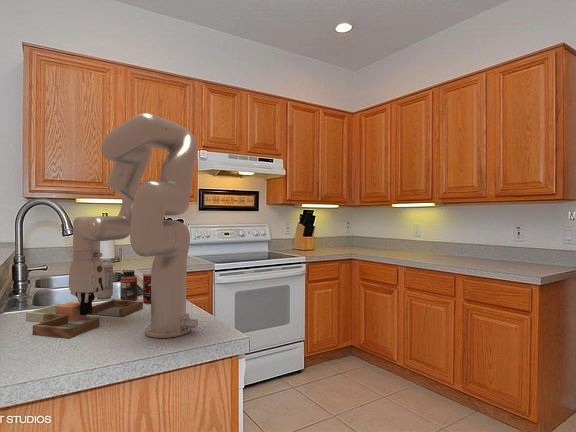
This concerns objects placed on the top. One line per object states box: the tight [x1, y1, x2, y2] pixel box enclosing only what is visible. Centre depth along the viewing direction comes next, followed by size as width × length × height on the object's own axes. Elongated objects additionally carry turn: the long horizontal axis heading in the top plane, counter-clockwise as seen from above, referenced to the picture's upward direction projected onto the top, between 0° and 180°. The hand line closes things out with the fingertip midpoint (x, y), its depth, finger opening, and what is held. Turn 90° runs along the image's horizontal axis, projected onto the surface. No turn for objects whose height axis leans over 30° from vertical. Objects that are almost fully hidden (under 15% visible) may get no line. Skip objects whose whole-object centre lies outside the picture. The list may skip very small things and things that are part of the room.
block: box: [54, 301, 87, 323], centre depth 115 cm, size 6×6×4 cm
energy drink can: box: [96, 258, 114, 301], centre depth 143 cm, size 6×6×15 cm
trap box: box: [25, 299, 144, 339], centre depth 115 cm, size 26×32×2 cm
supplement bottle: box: [120, 269, 138, 301], centre depth 141 cm, size 6×6×11 cm
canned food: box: [142, 271, 151, 305], centre depth 138 cm, size 8×8×11 cm
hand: (86, 314), depth 115 cm, fingers closed
